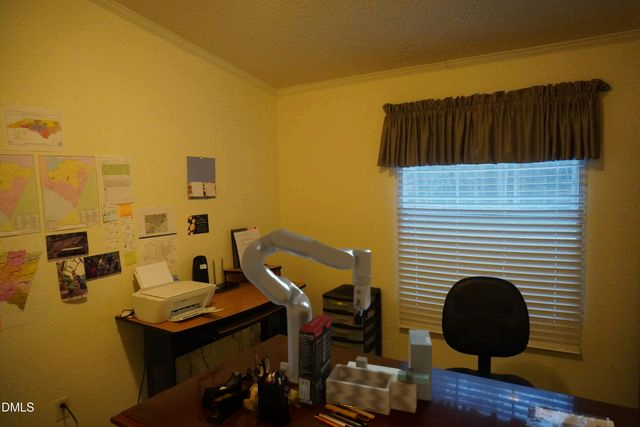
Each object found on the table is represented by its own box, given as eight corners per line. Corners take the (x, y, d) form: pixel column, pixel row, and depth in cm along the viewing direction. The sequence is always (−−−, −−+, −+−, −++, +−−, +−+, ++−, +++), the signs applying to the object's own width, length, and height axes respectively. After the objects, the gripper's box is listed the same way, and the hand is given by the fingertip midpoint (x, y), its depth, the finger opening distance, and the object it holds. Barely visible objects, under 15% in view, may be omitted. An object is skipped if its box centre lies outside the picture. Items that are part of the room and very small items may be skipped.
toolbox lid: (340, 378, 145) (340, 363, 145) (349, 364, 157) (349, 350, 157) (396, 388, 137) (396, 371, 137) (400, 372, 149) (400, 357, 149)
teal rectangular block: (397, 379, 123) (397, 374, 123) (398, 375, 126) (398, 370, 126) (427, 384, 120) (427, 379, 120) (428, 380, 123) (428, 374, 123)
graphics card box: (315, 382, 141) (315, 313, 140) (332, 385, 139) (331, 315, 138) (297, 406, 125) (296, 329, 124) (316, 410, 123) (315, 331, 122)
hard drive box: (432, 401, 127) (432, 346, 126) (409, 399, 129) (409, 344, 128) (428, 379, 143) (428, 329, 142) (408, 377, 144) (408, 328, 143)
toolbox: (326, 402, 128) (325, 367, 127) (337, 384, 140) (337, 352, 139) (413, 419, 117) (413, 381, 117) (417, 398, 129) (417, 363, 129)
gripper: (366, 285, 137) (365, 329, 138) (375, 276, 154) (374, 316, 154) (347, 283, 140) (346, 327, 141) (358, 274, 156) (357, 313, 157)
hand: (361, 321), depth 148 cm, fingers open, 9 cm apart
